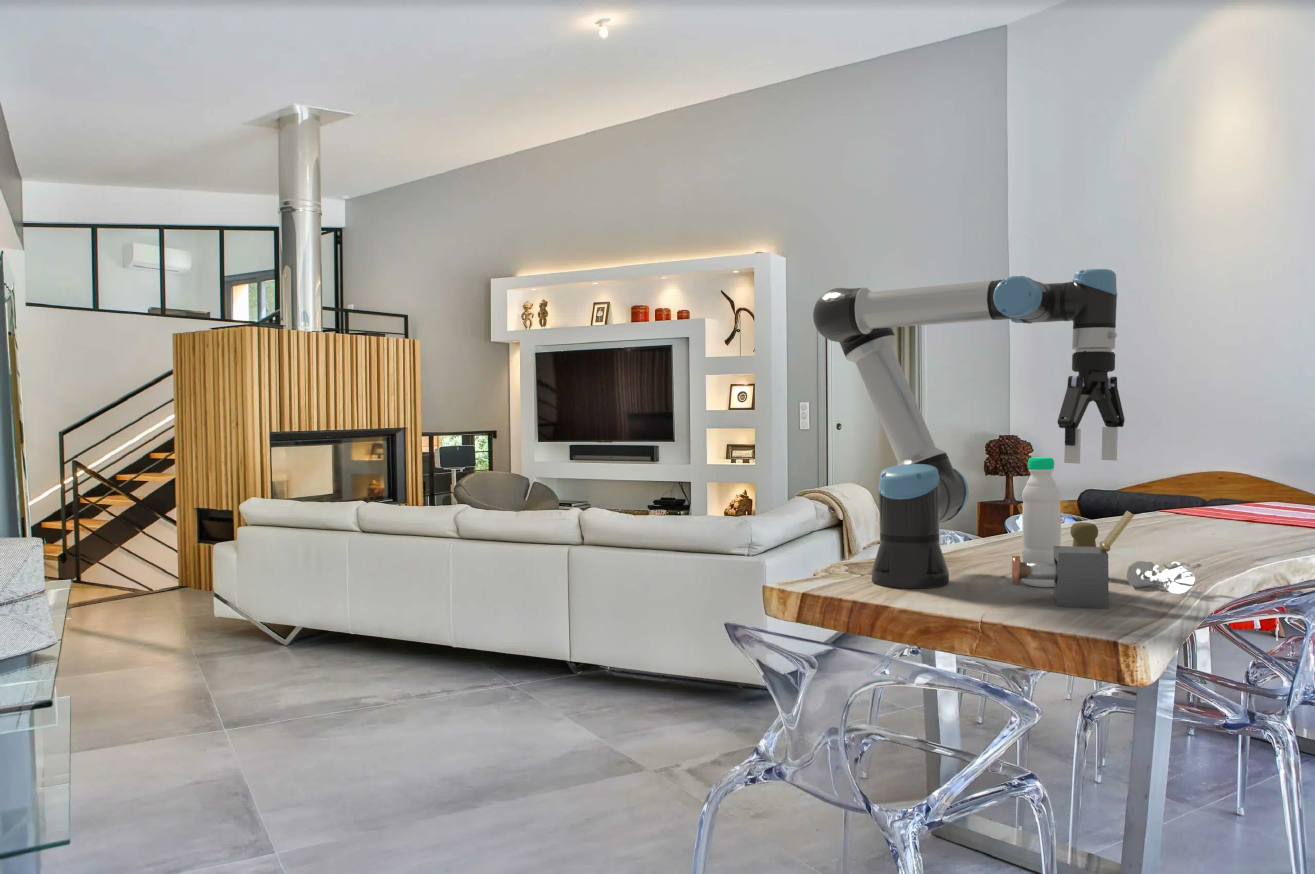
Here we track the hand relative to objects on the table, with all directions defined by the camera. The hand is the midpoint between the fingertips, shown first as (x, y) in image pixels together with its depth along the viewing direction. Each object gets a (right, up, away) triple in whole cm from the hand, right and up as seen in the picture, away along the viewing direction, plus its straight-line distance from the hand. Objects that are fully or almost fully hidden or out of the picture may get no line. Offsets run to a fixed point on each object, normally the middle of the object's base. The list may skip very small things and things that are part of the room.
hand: (1091, 461), depth 184 cm
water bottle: (-8, -24, +3) cm, 26 cm away
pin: (-13, -22, -13) cm, 29 cm away
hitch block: (-8, -25, -14) cm, 30 cm away
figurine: (+11, -24, -5) cm, 27 cm away
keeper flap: (-3, -12, -17) cm, 21 cm away
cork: (+4, -24, +11) cm, 27 cm away
